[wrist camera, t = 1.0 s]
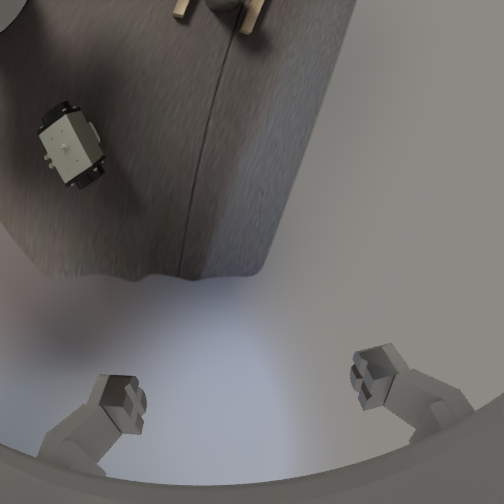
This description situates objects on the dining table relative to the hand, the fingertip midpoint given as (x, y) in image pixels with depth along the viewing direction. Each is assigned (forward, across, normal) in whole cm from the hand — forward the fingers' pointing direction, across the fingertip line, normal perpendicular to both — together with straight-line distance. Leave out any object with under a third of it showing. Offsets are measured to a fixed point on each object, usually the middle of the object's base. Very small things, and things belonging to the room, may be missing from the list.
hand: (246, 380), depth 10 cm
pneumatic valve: (+36, +22, -12) cm, 44 cm away
